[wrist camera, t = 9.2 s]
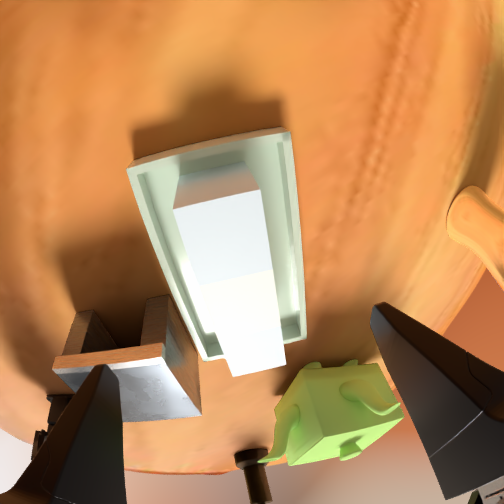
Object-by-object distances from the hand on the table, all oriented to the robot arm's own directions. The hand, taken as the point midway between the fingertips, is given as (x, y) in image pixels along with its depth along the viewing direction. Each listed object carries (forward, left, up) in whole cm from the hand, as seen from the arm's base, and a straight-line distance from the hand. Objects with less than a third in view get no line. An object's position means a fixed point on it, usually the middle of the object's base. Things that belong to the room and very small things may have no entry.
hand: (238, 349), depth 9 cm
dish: (-5, 0, -12) cm, 13 cm away
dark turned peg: (-50, +6, -12) cm, 51 cm away
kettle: (-25, -7, -12) cm, 28 cm away
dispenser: (-11, +10, -12) cm, 19 cm away
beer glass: (-6, -23, -12) cm, 27 cm away
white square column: (-5, 0, -11) cm, 12 cm away
